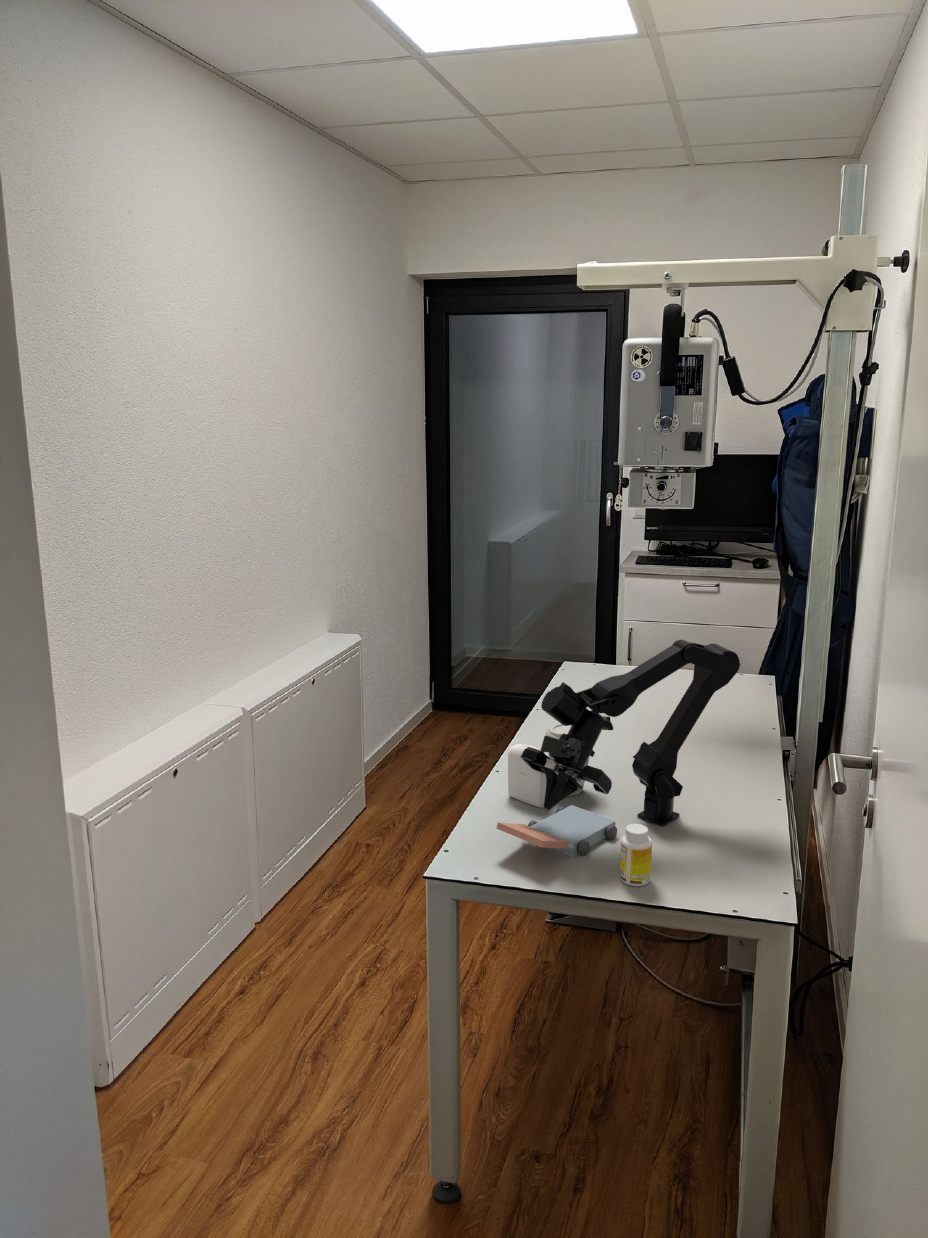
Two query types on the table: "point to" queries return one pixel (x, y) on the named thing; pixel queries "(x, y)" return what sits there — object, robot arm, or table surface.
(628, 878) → the supplement bottle
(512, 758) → the photo printer
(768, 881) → the table surface
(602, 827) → the cart bed
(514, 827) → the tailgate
